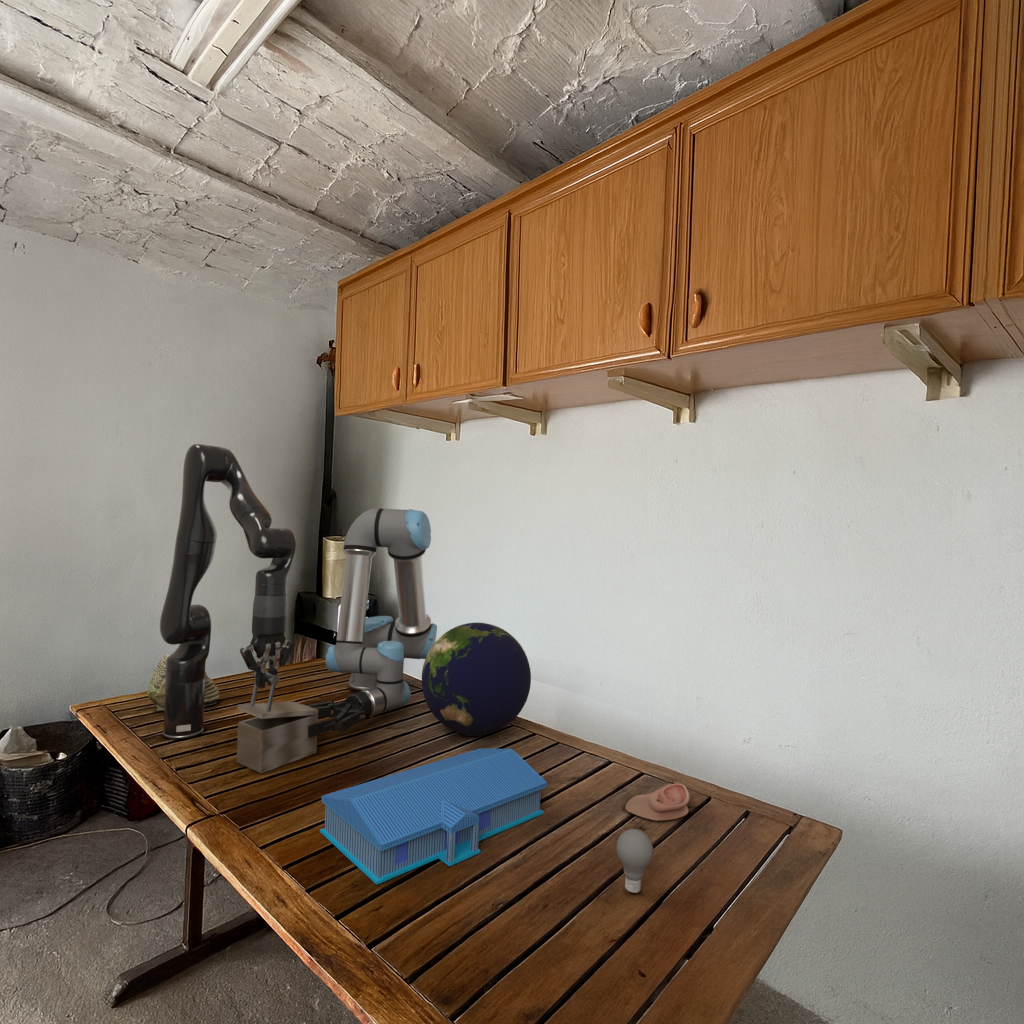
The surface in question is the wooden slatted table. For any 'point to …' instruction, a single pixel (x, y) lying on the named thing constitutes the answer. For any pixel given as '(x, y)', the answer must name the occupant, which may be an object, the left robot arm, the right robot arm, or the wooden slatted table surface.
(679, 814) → the anatomical model
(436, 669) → the globe
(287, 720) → the chest
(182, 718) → the left robot arm
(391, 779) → the model building
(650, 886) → the wooden slatted table surface
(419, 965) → the wooden slatted table surface
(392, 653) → the right robot arm
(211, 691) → the fossil
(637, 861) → the light bulb
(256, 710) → the grey piece
